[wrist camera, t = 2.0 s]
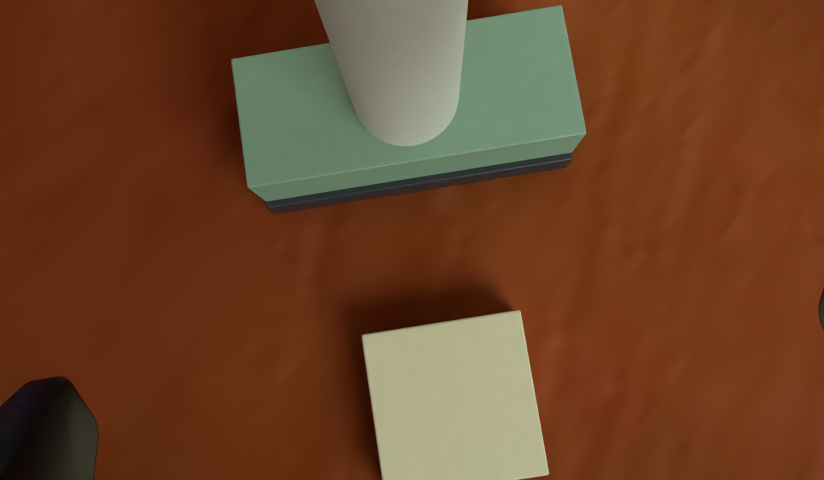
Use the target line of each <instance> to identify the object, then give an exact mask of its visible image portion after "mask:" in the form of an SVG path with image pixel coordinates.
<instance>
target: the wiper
mask: <svg viewBox="0 0 824 480" xmlns="http://www.w3.org/2000/svg"><path fill="white" fill-rule="evenodd" d="M314 1H315V3H316V6H317V9H318V11H319V14H320V17H321V20H322V22H323V25H324V28H325V30H326V33H327V36H328V38H329V41H330V43H327V44H320V45H314V46H308V47H302V48H296V49H290V50H284V51H278V52H271V53H265V54H259V55H253V56H247V57H241V58H235V59H231V64H232V72H233V79H234V87H235V95H236V103H237V111H238V119H239V127H240V135H241V142H242V150H243V158H244V166H245V174H246V182H247V187H248V188H249V189H250V190H251V191H253V192H254V193H255V194H257V195H258V196H259V197H260V198H262V199H263V200H264V201H266V207H267V209H269V210H270V211H271V212H273V213H274V214H278V213H284V212H290V211H296V210H303V209H309V208H315V207H321V206H328V205H334V204H340V203H346V202H353V201H359V200H365V199H371V198H378V197H384V196H390V195H396V194H403V193H409V192H415V191H421V190H428V189H434V188H440V187H446V186H453V185H459V184H465V183H471V182H478V181H484V180H490V179H496V178H502V177H509V176H515V175H521V174H527V173H534V172H540V171H546V170H552V169H559V168H565V167H567V166H568V165H569V163H570V162H571V161H572V160H573V156H572V151H573V150H574V149H575V147H576V146H577V145H578V144H579V142H580V141H581V140H582V138H583V137H584V136H585V134H586V128H585V123H584V117H583V112H582V107H581V102H580V97H579V92H578V87H577V82H576V76H575V71H574V66H573V61H572V56H571V51H570V46H569V40H568V35H567V30H566V25H565V20H564V15H563V10H562V6H561V5H559V6H553V7H547V8H541V9H534V10H528V11H522V12H516V13H510V14H504V15H498V16H492V17H486V18H479V19H473V20H467V21H466V19H467V9H468V0H314Z"/></svg>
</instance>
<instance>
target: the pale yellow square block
mask: <svg viewBox="0 0 824 480" xmlns="http://www.w3.org/2000/svg"><path fill="white" fill-rule="evenodd" d="M362 344H363V351H364V358H365V365H366V371H367V378H368V385H369V392H370V399H371V406H372V413H373V420H374V427H375V434H376V440H377V447H378V454H379V461H380V468H381V475H382V480H518V479H525V478H531V477H538V476H544V475H548V474H549V471H548V465H547V459H546V454H545V448H544V442H543V437H542V431H541V425H540V420H539V414H538V408H537V403H536V397H535V391H534V385H533V380H532V374H531V368H530V363H529V357H528V351H527V346H526V340H525V334H524V329H523V323H522V317H521V312H520V310H516V311H509V312H503V313H497V314H490V315H484V316H478V317H471V318H465V319H458V320H452V321H446V322H439V323H433V324H427V325H420V326H414V327H408V328H401V329H395V330H389V331H382V332H376V333H370V334H363V335H362Z"/></svg>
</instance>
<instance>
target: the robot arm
mask: <svg viewBox="0 0 824 480" xmlns="http://www.w3.org/2000/svg"><path fill="white" fill-rule="evenodd" d="M819 318H820V322H821V324H822V327H823V329H824V289H823V292H822V295H821V298H820V302H819ZM97 446H98V426H97V423H96V420H95V418H94V416H93V414H92V413H91V411H90V410H89V408H88V407H87V405H86V404H85V402H84V401H83V399H82V398H81V396H80V395H79V393H78V392H77V390H76V388H75V387H74V385H73V384H72V383H71V381H70V380H68V379H67V378H65V377H60V376H58V377H51V378H45V379H39V380H33V381H30V382H28V383H26V384H25V385H23V386H22V387H21V388H20V389H19V390H18V391H17V392H16V393H15V394H13V395H12V396H11V397H10V398H9V399H8V400H7V401H6V402H5V403H4V404H3V405H2V406H1V407H0V480H94V472H95V463H96V455H97Z"/></svg>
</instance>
